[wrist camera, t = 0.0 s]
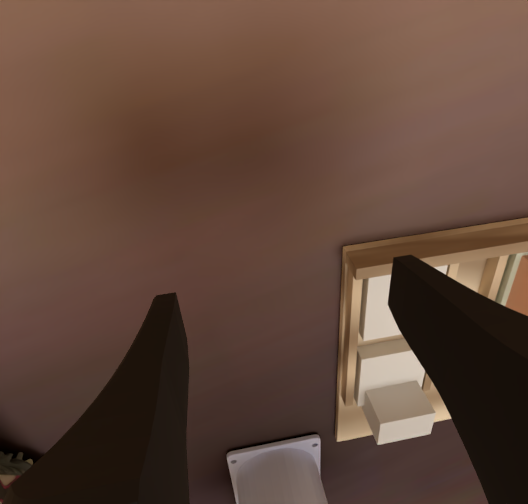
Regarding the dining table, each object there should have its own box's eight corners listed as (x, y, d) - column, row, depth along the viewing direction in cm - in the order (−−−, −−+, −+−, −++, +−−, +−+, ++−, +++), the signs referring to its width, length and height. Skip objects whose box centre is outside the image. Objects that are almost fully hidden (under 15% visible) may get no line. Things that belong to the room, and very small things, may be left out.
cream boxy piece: (411, 387, 34) (436, 432, 31) (351, 399, 33) (370, 446, 30) (438, 251, 26) (475, 290, 23) (361, 263, 26) (388, 306, 23)
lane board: (510, 399, 39) (528, 422, 37) (334, 435, 37) (343, 461, 35) (589, 207, 27) (620, 226, 26) (342, 246, 26) (356, 269, 24)
